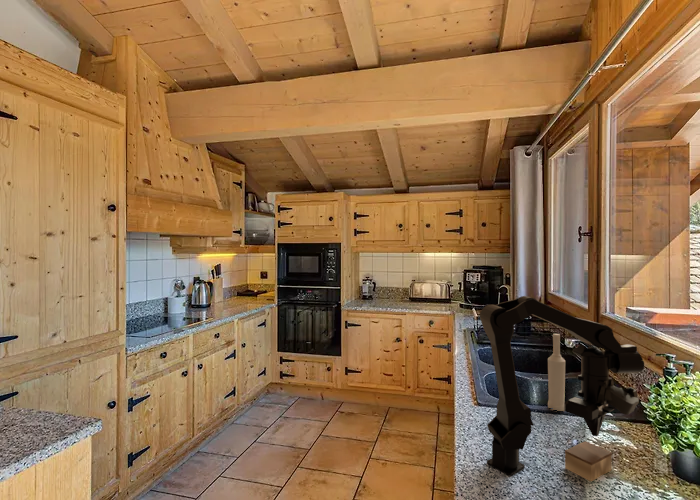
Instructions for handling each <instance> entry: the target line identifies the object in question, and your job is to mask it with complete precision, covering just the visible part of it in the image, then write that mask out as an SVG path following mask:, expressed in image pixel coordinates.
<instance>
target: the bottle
mask: <svg viewBox="0 0 700 500" xmlns="http://www.w3.org/2000/svg"><path fill="white" fill-rule="evenodd" d="M552 344H553V345H552V347H553V348H552V352H553V353H552V354H551V355H550V356H549V357H548V358H547V377H548V378H547V379H548V382H547V383H548V385H547V387H548V401H547V407H548V409H549V408H553V409H550V410H551V411H553V410H557V411H563V412H565V410H564V402H565V397H566V396H565V393H566V391H565V389H566V388H565V387H566V360H565V358H564V357H562V354H561V334H560V333H553V334H552ZM557 411H556V412H557Z"/></svg>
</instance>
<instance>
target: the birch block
mask: <svg viewBox="0 0 700 500" xmlns="http://www.w3.org/2000/svg"><path fill="white" fill-rule="evenodd" d="M612 453H613V452H612V451H609V450H607V449H605V448H602V447H600V446H597V445H596V444H593V443H590V442H588V441H586V440H585V441H583V442H581V443H578V444H576V445H573V446H572V447H570V448H567V449H565V450H564V457H565V458H564V469H566V470H568V471H570V472H572V473H574V474H576V475H578V476H579V477H581V478H583V479H584V480H585V479H586V480H587V481H589V482H593V481H595V480H596V479H598V478H600V477H602V476H603V475H605V474H607V473H609V472H611V471H612V466H613V465H612V457H613V456H612V455H613V454H612Z"/></svg>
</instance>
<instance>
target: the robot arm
mask: <svg viewBox="0 0 700 500" xmlns="http://www.w3.org/2000/svg"><path fill="white" fill-rule="evenodd" d="M531 315H532V316H533V317H536V318H538V319H541V320H543V321H545V322H547V323H550V324H552V325H554V326H557V327H558V328H559V327H560V328H562V329H564V330H565V331H567V332H568V333H569V334H570V335H572V336H573V337H575V338H576V339H578V340H579V341H581V342H582V343H585V344H587V345H591V346H594V347H587V346H586V345H584V344H581V343H580V344H578V346H577V347H575V348H574V349H572V352H573V354H575V355H578V356H580V357H581V359H580V360H581V364H580V365H581V372H580V373H581V374H578V375H577V380H579V381H581V382H580V383H581V386H580V387H581V389H580V390H579V391H577V396H578V397H576V396H574V397H572V398H570V399H568V400H566V401H564V413H565V412H566V413H568V414H571V415H574V416H577V417H580V418H583V420H584V422H585V424H586V426H587V427H588V430H589V431H590V434H591V435H592V436H593V437H598V436H599V434H600V430H601V428H602V425H603V423H604V419H605V417H606V415H608V414H609V413H610V412H613V411H614V410H615V409H616V410H618V411H619V412H620V413H621V414H623V415H626V416H629V415H630V414H631V413H634V412H635V409H636V407H637V405H638V404H640V400H639V399H640V397H639V396H638V391H637V389H635V388H633V387H632V386H629V387H627V388H625V389H623V388H622V387H617V386H616V385H614V383H615V382H614V381H615V380H614V379H613V377H610V372H611V373H613V374H640V373H642V372H643V370H644V368H645V361H644V360H643V357H642V354H641V353H639V351H638V346H636V345H633V344H629V343H628V344H627V343H626V344H623V345H622V344H620V343H619V341H618V339H617V338H616V337H615V336H614V335H615V334H614V332H613V331H614V330H613V329H612V327H610V326H609V325H607V324H603V323H599V322H595V321H593V320H589V319H585V318H584V319H583V318H580V317H575V316H573V315H572V314H568V313H566V312H564V311H562V310H560V309H557V308H555V307H553V306H550V305H549V304H545V303H543V302H541V301H539V300H537V298H535V297H532V296H526V295H521V296H520V297H518V298H515V299H510V300H508V301H503V302H499V303H497V304H488V305H485V306H484V307H483V308H482V309H481V310H480V312H479V319H480V323H481V325H482V328H483V331H484V332H485V334H486V336H487V338H488V340H489V342H490V347H491V352H492V353H491V354H492V359H493V366H494V371H495V379H496V384H497V389H498V395H499V397H498V400H497V404H496V415H495V416H494V417H493V418H492V419H491V420H490V421H489V422H488V423H487V429H488V432H489V433H490V434H491V435H492V436H493V439H492V440H491V458H489V459H487V460H486V464H487V465H489V466H492V468H495V469H497V470H498V471H500V472H501V473H504V474H505V475H507V476H512V475H514V474H515V473H517V472H520V471H521V470H523V469H525V467H526V466H525V464H524V463H522V462H520V450H523V449H524V447H525V445H526V441H527V438H528V437H529V436H530V435H531V434H532V427H533V426H534V423H533V421H532V411H531V407H529V406H528V405H527V404H525V403H524V402H523V401H522V400H521V399H520V393H519V387H518V382H517V376H516V369H515V361H514V357H513V349H512V346H511V345H512V344H511V343H512V342H511V341H512V338H513V335H514V330H515V329H514V326H515V325H516V324H520V323H521V322H522V321H524V320H526V319H527V318H528V317H530V316H531ZM601 349H603V350H601ZM579 397H581V398H579ZM582 398H583V399H582ZM609 405H610V406H609Z"/></svg>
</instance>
